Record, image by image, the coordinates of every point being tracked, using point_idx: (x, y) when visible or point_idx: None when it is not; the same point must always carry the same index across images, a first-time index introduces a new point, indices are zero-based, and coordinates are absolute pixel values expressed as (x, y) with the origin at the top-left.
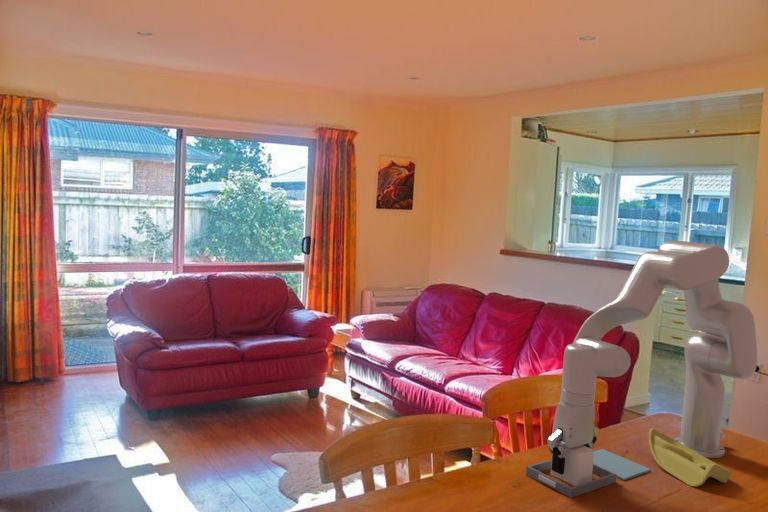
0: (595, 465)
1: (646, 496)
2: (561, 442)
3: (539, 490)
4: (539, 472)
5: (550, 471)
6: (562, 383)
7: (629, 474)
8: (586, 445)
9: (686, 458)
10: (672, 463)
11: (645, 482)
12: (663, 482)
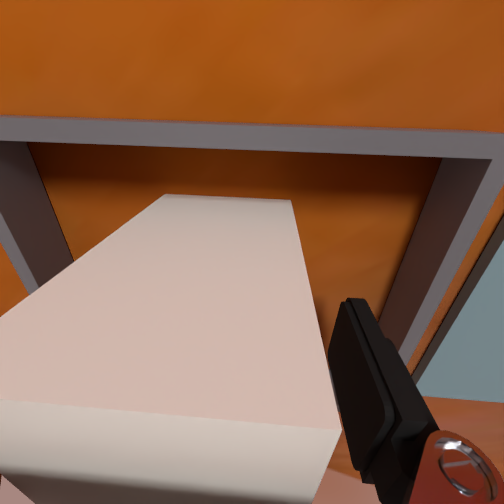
0: (406, 341)
1: (339, 442)
2: (75, 450)
3: (6, 275)
4: (2, 237)
5: (158, 199)
6: None
7: (476, 392)
8: (398, 501)
9: None
10: None
11: (453, 419)
12: (499, 440)
